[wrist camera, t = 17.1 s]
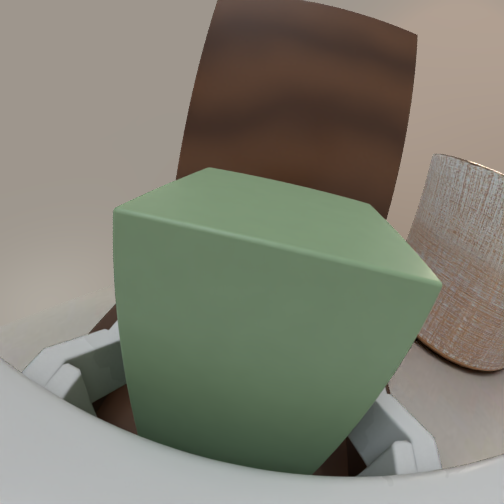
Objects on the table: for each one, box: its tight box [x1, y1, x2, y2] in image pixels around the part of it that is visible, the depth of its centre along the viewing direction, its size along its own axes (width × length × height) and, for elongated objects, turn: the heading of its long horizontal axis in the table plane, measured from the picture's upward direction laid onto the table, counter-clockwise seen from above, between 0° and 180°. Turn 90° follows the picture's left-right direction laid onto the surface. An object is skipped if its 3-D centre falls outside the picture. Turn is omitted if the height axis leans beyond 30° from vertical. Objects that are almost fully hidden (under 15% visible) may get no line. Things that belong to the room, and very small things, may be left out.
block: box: [113, 167, 442, 475], centre depth 8 cm, size 5×5×11 cm
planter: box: [406, 154, 504, 371], centre depth 22 cm, size 18×18×16 cm
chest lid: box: [176, 0, 417, 220], centre depth 18 cm, size 18×14×4 cm
